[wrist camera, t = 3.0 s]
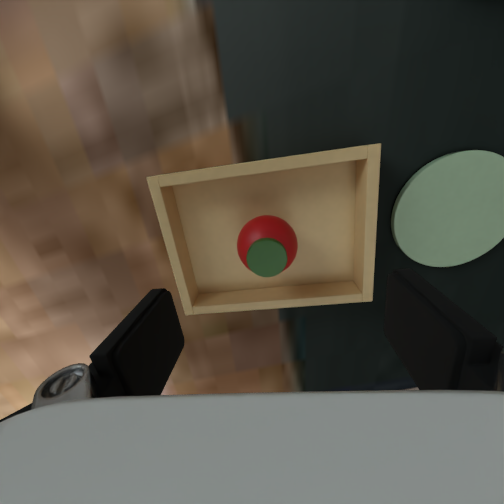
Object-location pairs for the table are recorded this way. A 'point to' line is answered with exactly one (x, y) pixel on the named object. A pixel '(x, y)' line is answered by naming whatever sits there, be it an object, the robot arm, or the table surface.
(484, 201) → the coaster
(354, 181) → the tray
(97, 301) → the table surface
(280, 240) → the strawberry
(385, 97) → the table surface
